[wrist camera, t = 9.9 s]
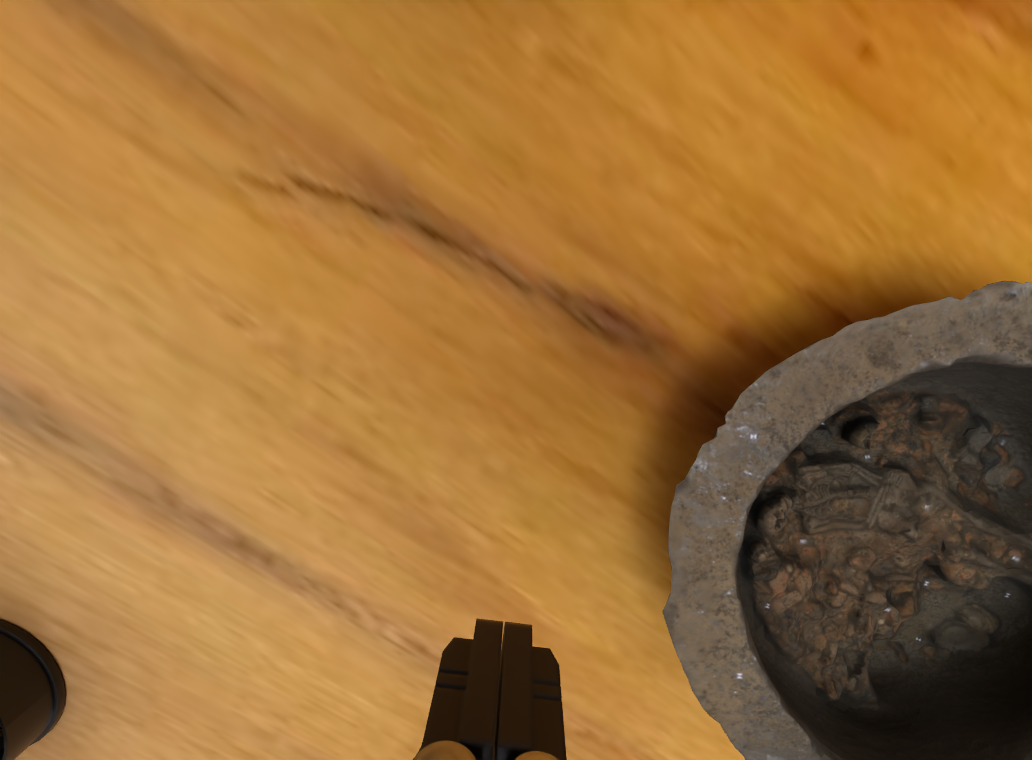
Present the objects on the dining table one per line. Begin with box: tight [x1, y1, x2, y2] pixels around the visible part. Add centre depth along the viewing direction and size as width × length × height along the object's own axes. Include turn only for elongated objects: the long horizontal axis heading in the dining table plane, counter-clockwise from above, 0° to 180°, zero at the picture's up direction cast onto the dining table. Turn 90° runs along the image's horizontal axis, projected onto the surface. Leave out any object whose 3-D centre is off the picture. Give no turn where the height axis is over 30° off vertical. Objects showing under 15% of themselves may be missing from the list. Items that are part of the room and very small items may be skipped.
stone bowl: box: [662, 281, 1032, 760], centre depth 23 cm, size 25×25×9 cm
